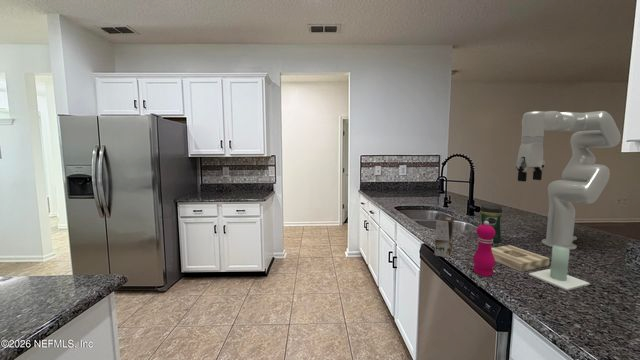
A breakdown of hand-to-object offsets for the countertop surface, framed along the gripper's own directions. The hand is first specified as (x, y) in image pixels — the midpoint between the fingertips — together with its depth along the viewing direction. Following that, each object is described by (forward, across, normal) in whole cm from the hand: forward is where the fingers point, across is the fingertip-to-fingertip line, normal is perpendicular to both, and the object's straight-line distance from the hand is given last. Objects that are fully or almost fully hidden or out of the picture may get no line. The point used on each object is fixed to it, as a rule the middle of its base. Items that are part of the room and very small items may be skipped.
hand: (529, 180), depth 117 cm
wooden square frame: (+32, +13, +4) cm, 35 cm away
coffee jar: (+33, -2, -18) cm, 38 cm away
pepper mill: (+32, +35, +8) cm, 48 cm away
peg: (+32, +16, +21) cm, 41 cm away
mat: (+32, +16, +21) cm, 42 cm away
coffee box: (+32, +35, -12) cm, 49 cm away
